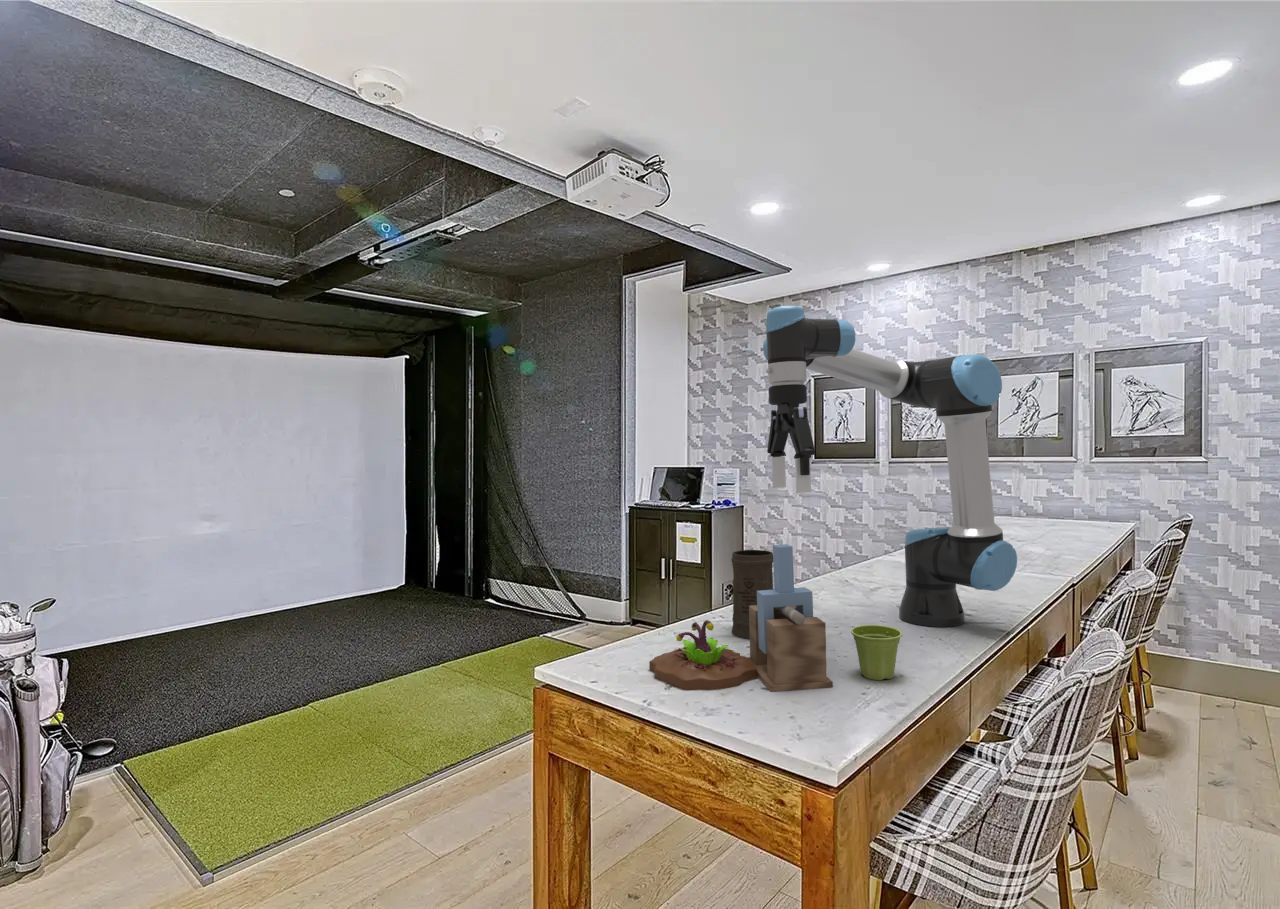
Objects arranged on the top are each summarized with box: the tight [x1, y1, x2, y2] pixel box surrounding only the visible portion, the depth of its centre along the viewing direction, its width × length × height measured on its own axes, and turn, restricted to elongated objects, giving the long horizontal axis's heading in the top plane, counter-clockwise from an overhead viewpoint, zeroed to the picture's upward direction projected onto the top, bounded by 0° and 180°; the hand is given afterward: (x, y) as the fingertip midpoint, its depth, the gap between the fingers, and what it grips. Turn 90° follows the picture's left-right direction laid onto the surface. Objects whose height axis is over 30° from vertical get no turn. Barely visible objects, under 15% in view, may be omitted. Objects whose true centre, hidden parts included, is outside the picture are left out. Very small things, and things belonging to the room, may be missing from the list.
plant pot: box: [850, 624, 903, 681], centre depth 133 cm, size 9×9×9 cm
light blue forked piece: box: [757, 543, 814, 654], centre depth 135 cm, size 10×4×20 cm, turn 97°
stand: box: [746, 605, 834, 693], centre depth 135 cm, size 12×17×14 cm
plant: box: [648, 619, 759, 691], centre depth 137 cm, size 20×20×11 cm
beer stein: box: [731, 549, 774, 640], centre depth 166 cm, size 15×11×20 cm
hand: (790, 490), depth 138 cm, fingers open, 13 cm apart
